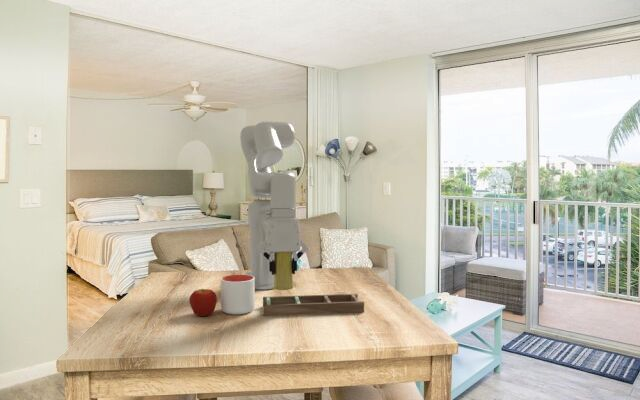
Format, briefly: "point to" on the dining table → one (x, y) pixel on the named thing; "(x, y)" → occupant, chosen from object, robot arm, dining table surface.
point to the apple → (203, 302)
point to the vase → (283, 271)
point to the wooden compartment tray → (312, 304)
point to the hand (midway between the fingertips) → (283, 273)
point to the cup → (237, 294)
